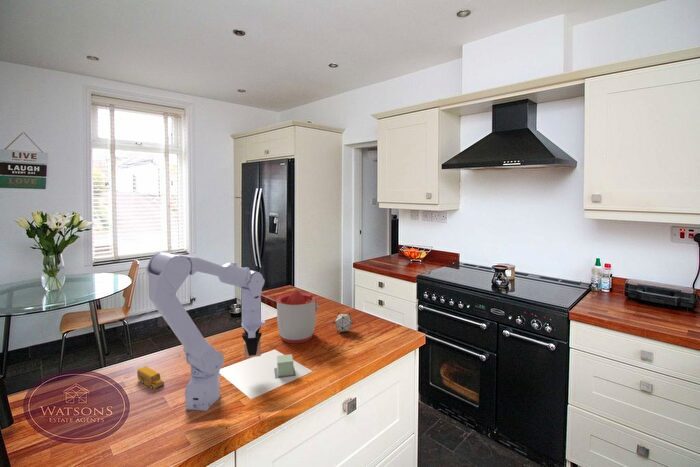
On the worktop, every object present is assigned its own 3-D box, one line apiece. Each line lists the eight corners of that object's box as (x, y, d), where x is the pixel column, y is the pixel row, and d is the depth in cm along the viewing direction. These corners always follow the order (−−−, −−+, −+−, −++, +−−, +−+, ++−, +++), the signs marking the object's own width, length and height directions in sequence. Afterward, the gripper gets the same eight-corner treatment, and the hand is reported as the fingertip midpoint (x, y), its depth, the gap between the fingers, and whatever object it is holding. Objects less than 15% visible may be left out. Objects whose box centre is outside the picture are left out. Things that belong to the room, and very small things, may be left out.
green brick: (293, 374, 111) (293, 361, 110) (277, 376, 110) (277, 362, 109) (291, 367, 116) (291, 354, 115) (277, 369, 114) (276, 355, 114)
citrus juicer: (325, 343, 137) (325, 293, 134) (280, 350, 130) (280, 297, 128) (314, 328, 151) (314, 283, 149) (273, 334, 145) (272, 287, 142)
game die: (338, 339, 149) (327, 318, 151) (355, 330, 152) (344, 309, 154) (342, 337, 141) (330, 315, 143) (360, 327, 144) (348, 305, 146)
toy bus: (154, 391, 103) (153, 379, 103) (137, 381, 109) (136, 369, 108) (164, 386, 106) (164, 374, 106) (148, 376, 111) (147, 365, 111)
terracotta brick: (260, 356, 108) (260, 342, 108) (244, 357, 107) (244, 343, 106) (260, 349, 113) (260, 335, 112) (244, 350, 112) (244, 337, 111)
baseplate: (251, 402, 98) (250, 398, 98) (216, 373, 113) (216, 370, 113) (312, 374, 113) (312, 371, 113) (274, 351, 129) (274, 349, 129)
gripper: (265, 315, 102) (266, 360, 104) (264, 300, 116) (264, 340, 118) (240, 317, 100) (241, 363, 102) (241, 302, 114) (242, 342, 116)
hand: (252, 351), depth 110 cm, fingers closed on terracotta brick, 5 cm apart
